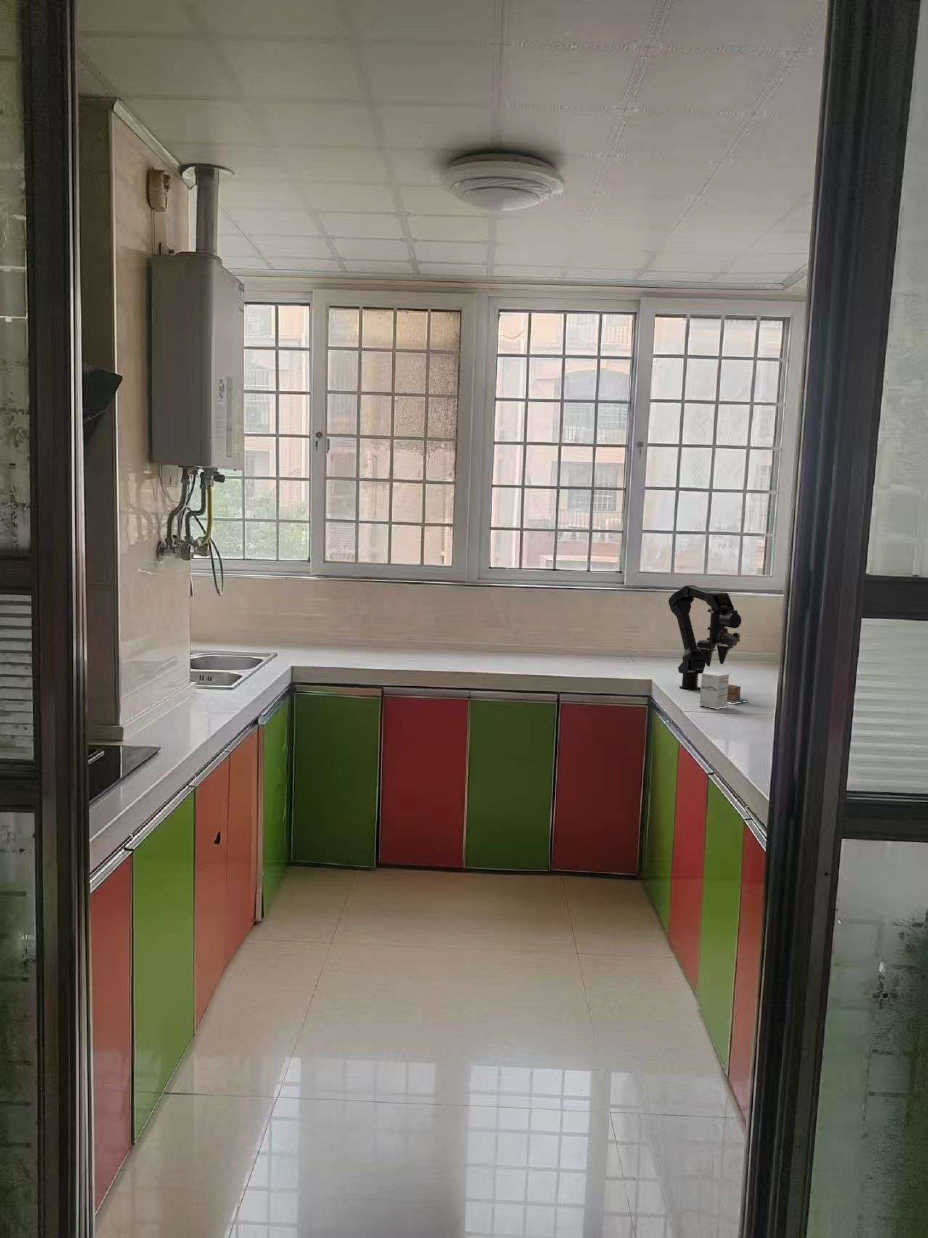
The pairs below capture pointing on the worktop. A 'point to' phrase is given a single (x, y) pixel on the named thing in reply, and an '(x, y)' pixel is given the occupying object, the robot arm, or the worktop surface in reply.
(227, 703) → the worktop surface
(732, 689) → the walnut block
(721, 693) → the supplement box
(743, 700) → the slate mat
